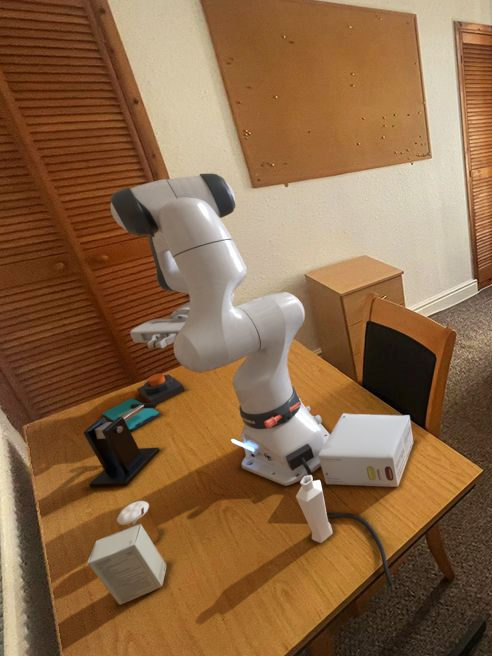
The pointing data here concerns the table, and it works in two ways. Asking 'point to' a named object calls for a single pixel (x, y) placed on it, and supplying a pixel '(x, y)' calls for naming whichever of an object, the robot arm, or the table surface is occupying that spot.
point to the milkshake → (139, 518)
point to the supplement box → (367, 450)
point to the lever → (136, 409)
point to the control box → (161, 390)
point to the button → (156, 379)
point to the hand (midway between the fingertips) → (154, 346)
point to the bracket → (117, 454)
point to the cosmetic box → (128, 564)
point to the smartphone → (137, 419)
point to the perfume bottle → (314, 508)
